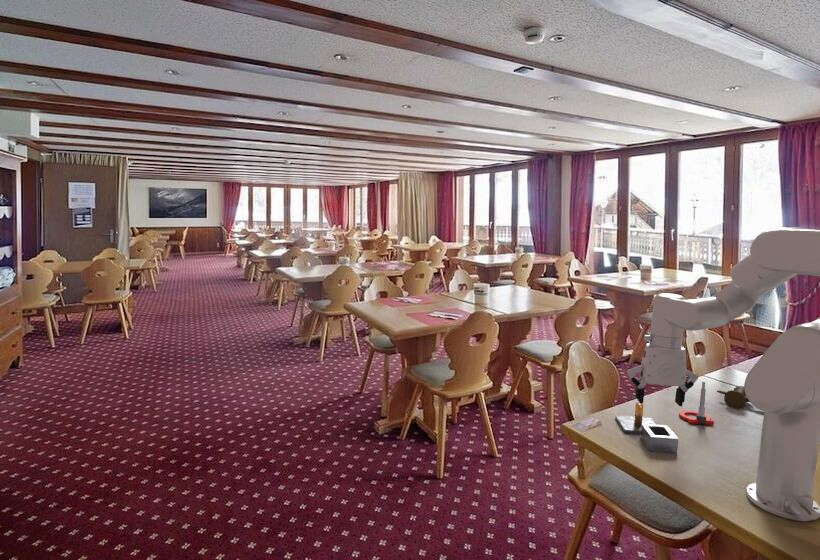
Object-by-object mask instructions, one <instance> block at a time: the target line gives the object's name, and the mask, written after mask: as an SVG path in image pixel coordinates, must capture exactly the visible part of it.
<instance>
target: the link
mask: <svg viewBox="0 0 820 560" xmlns="http://www.w3.org/2000/svg"><path fill="white" fill-rule="evenodd" d="M640 439H641V441H644V442H643V443H644V444H645V447H647V448H648V450H649V452H658V453H671V454H678V447H679V438H678V436H677V435H676V434H675V433H674V432H673V430H672V429H671V428H670V427H669V426H668V425H666V424H656V425H654V424H642V425H641V434H640Z"/></svg>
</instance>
